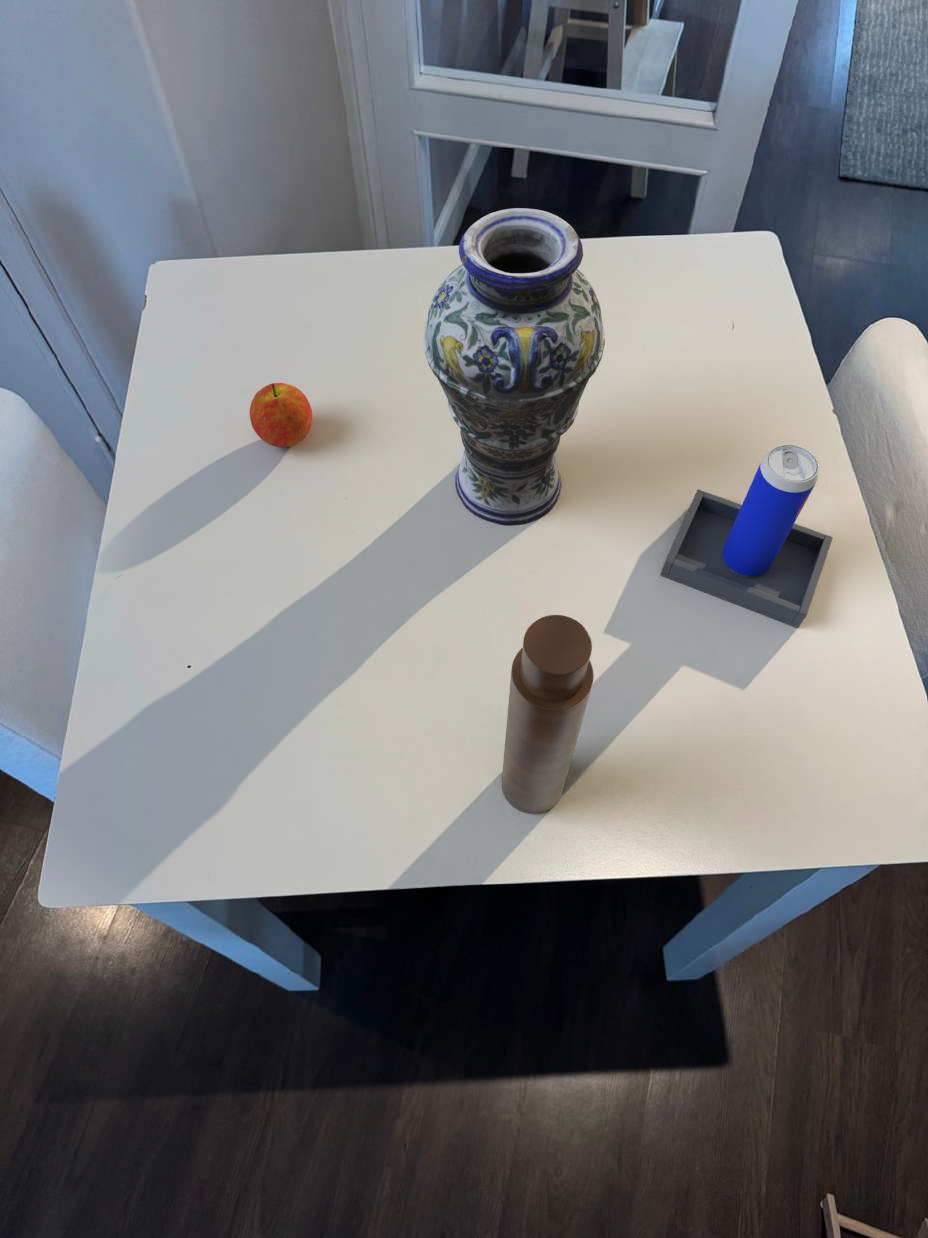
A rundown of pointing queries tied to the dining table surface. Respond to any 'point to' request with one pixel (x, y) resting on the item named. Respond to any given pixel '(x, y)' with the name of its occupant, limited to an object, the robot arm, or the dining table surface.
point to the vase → (514, 357)
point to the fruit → (281, 415)
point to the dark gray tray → (768, 594)
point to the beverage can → (770, 509)
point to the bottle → (545, 711)
